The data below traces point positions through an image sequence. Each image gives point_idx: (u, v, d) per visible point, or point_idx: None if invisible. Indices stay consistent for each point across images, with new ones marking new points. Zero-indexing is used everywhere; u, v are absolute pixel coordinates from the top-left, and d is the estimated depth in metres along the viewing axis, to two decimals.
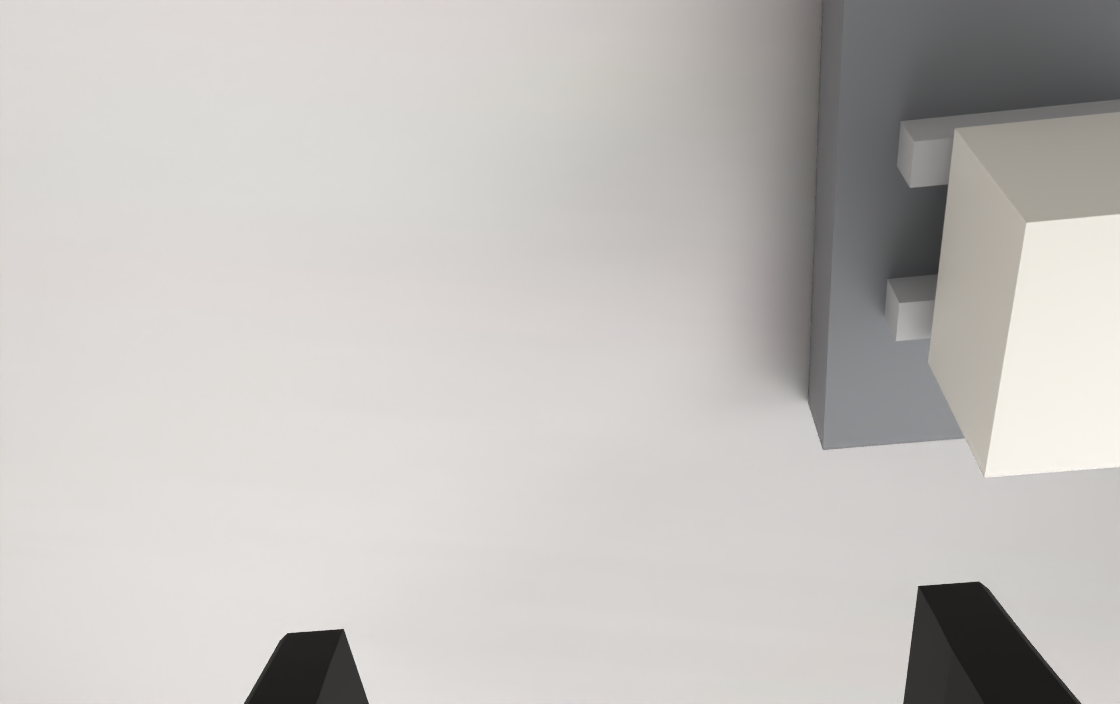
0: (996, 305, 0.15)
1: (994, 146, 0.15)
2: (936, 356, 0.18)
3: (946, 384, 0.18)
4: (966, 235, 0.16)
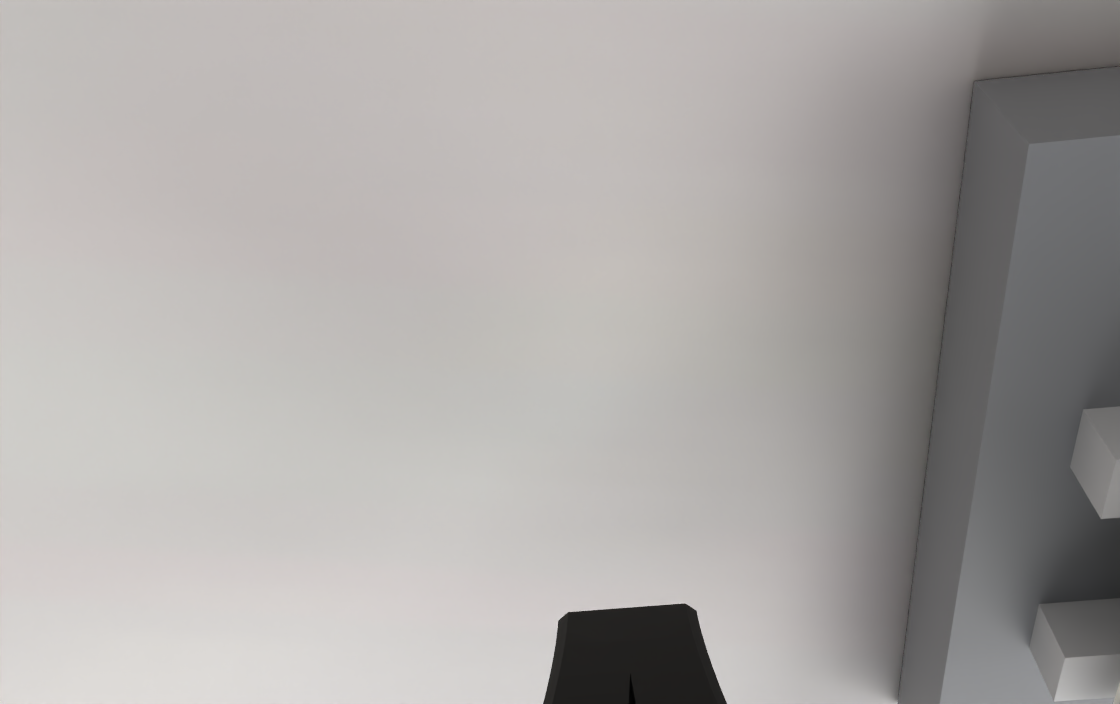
0: None
1: None
2: None
3: None
4: None
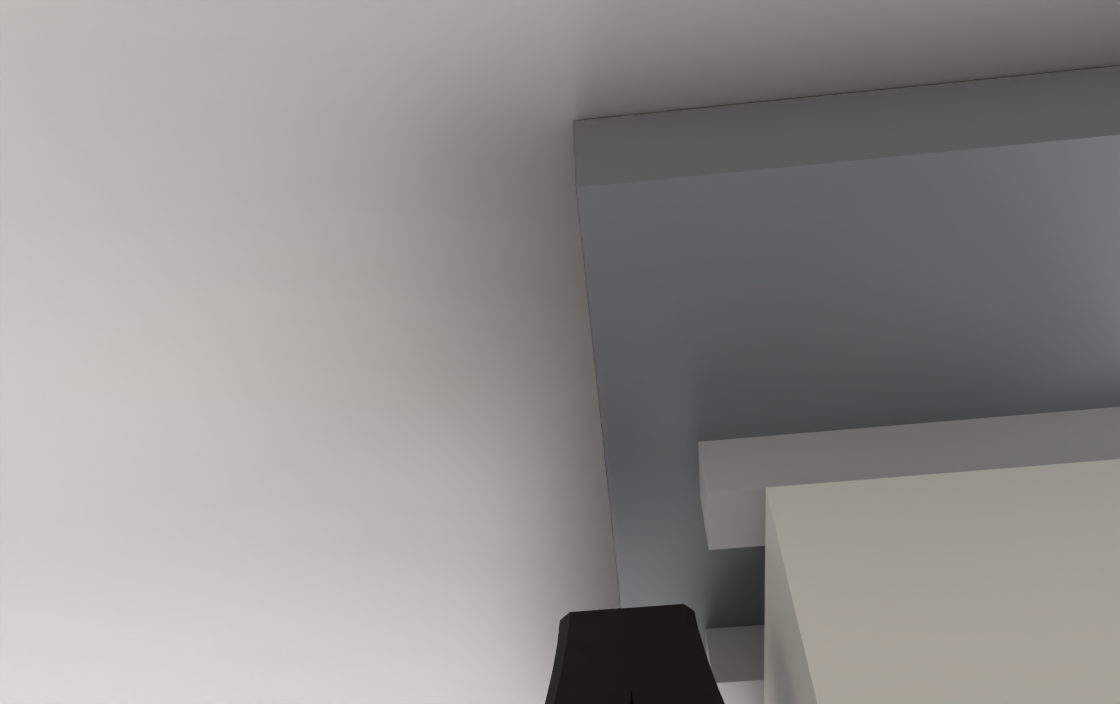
0: None
1: (817, 540, 0.10)
2: None
3: None
4: (782, 661, 0.10)
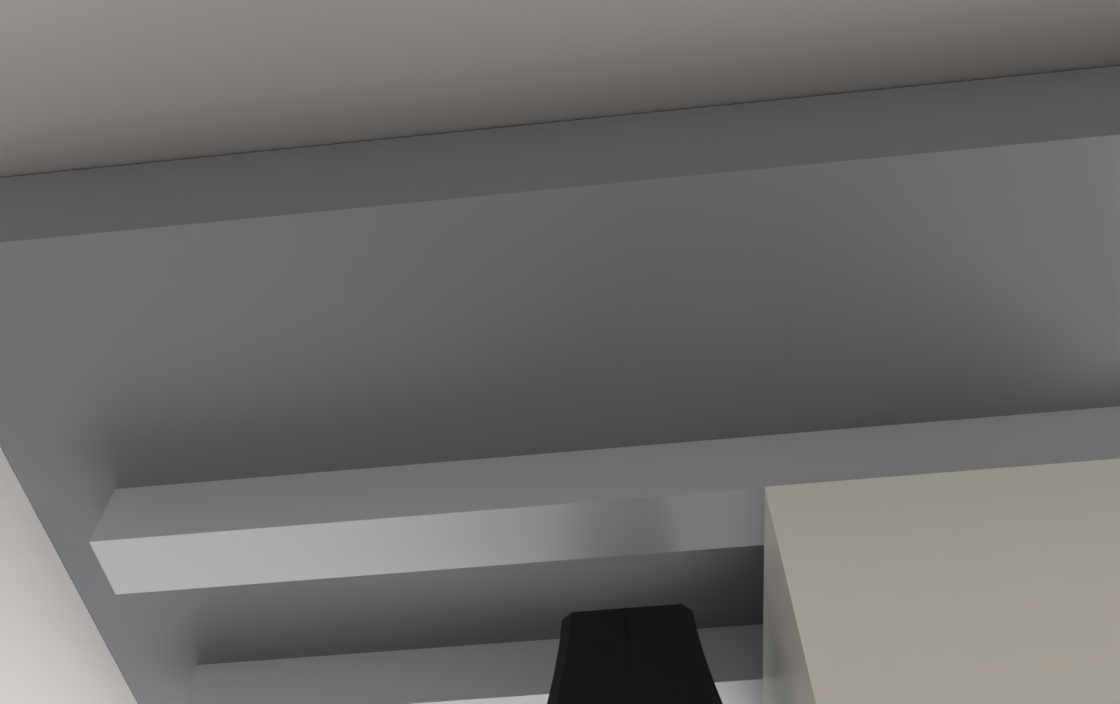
0: None
1: (816, 540, 0.10)
2: None
3: None
4: (781, 660, 0.10)
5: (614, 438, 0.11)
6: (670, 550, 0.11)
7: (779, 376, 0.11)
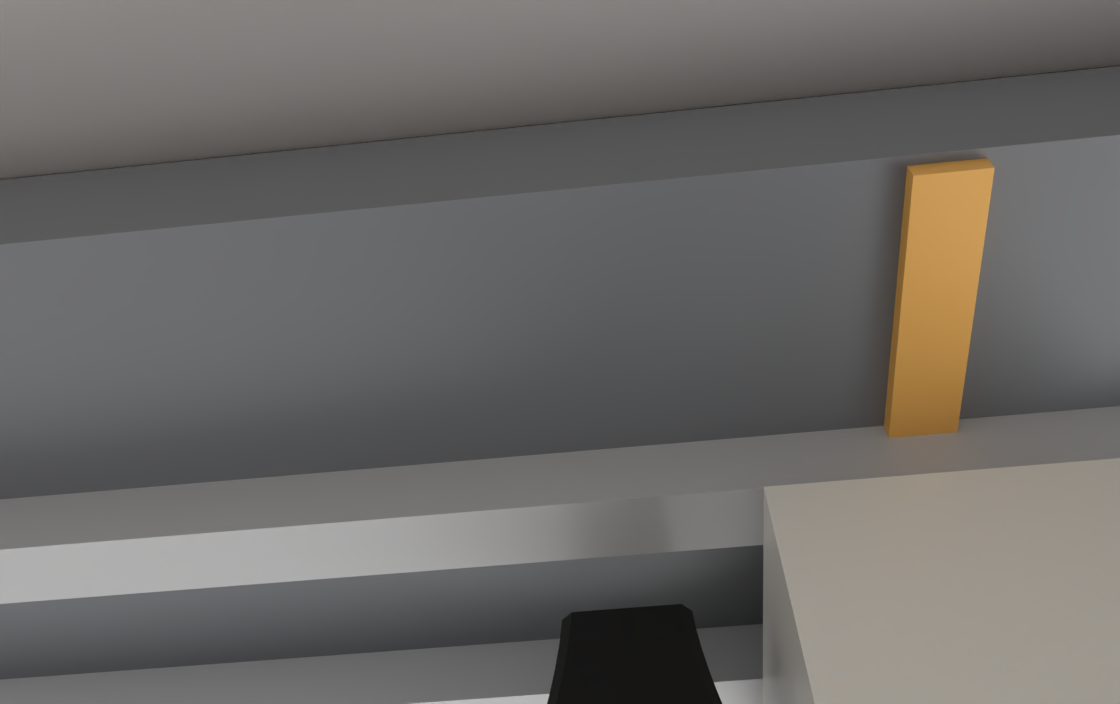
0: None
1: (815, 539, 0.10)
2: None
3: None
4: (780, 659, 0.10)
5: (262, 469, 0.12)
6: (312, 578, 0.11)
7: (408, 409, 0.11)
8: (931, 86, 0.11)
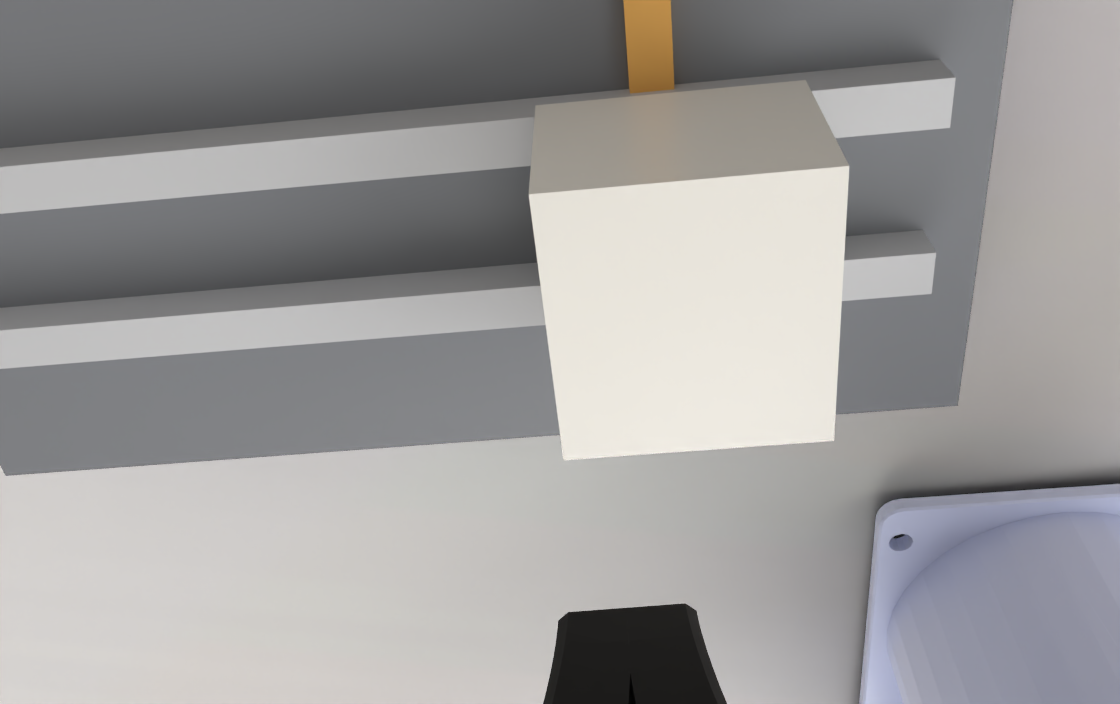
0: None
1: (557, 122, 0.15)
2: None
3: None
4: None
5: (219, 120, 0.17)
6: (250, 190, 0.17)
7: (314, 72, 0.17)
8: None
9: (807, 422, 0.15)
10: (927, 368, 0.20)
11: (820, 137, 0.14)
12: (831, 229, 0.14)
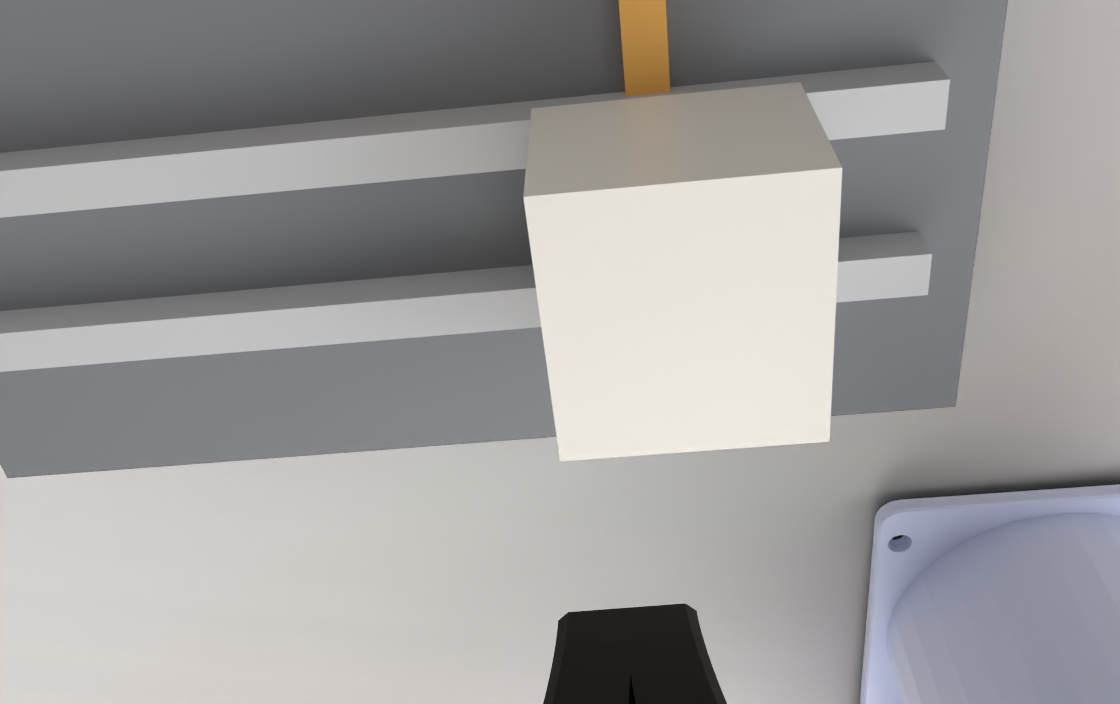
0: None
1: (553, 125, 0.15)
2: None
3: None
4: None
5: (217, 124, 0.17)
6: (249, 193, 0.17)
7: (311, 76, 0.17)
8: None
9: (802, 423, 0.15)
10: (924, 369, 0.20)
11: (813, 140, 0.14)
12: (825, 231, 0.14)
